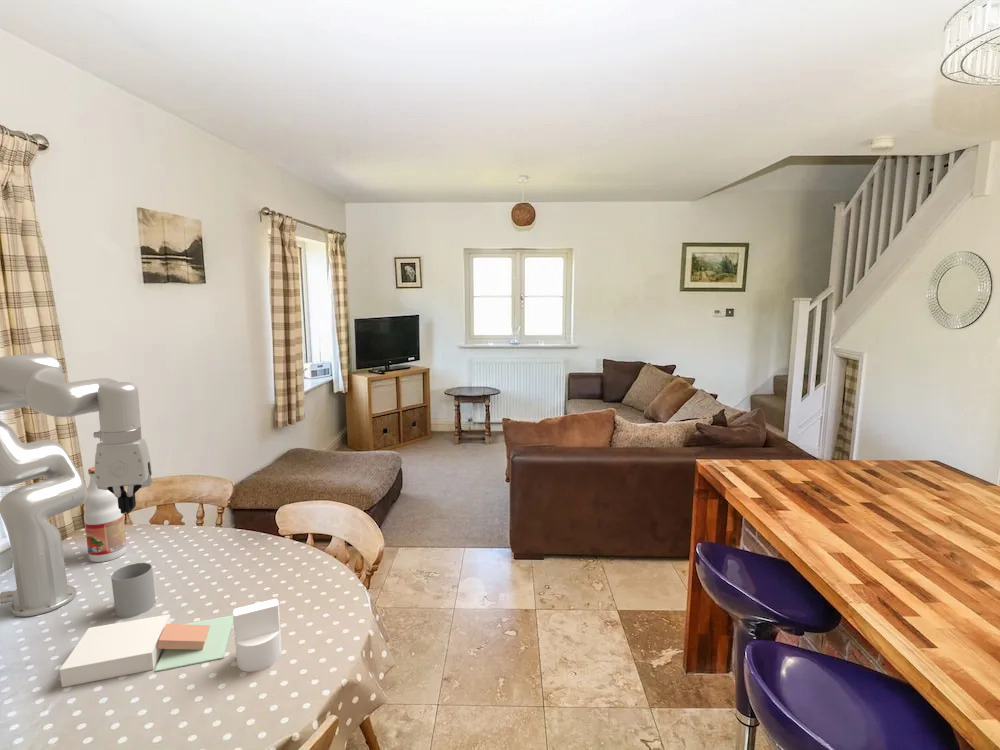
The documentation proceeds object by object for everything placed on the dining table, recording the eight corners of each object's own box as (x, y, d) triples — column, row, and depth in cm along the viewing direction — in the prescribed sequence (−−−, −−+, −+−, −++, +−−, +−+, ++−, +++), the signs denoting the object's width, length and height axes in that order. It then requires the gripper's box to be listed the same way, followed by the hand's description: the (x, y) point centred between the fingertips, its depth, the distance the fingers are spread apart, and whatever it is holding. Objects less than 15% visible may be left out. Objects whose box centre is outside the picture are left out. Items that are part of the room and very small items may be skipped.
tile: (156, 648, 112) (158, 640, 112) (164, 631, 117) (166, 623, 117) (202, 649, 115) (204, 641, 115) (208, 633, 120) (210, 625, 120)
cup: (163, 601, 133) (159, 566, 132) (131, 620, 126) (127, 582, 124) (140, 595, 136) (136, 560, 134) (107, 613, 128) (103, 576, 127)
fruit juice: (127, 556, 156) (118, 468, 152) (88, 566, 151) (77, 475, 146) (127, 544, 164) (117, 460, 159) (89, 553, 158) (78, 466, 154)
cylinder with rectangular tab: (237, 677, 107) (233, 624, 105) (236, 651, 115) (232, 601, 113) (283, 663, 111) (280, 612, 109) (280, 638, 119) (276, 591, 117)
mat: (154, 672, 108) (154, 670, 108) (175, 626, 123) (174, 625, 123) (223, 658, 113) (223, 657, 112) (235, 615, 127) (234, 614, 127)
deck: (61, 687, 104) (59, 669, 103) (91, 643, 117) (89, 627, 116) (153, 669, 109) (151, 652, 108) (171, 629, 122) (170, 614, 122)
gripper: (74, 442, 112) (82, 520, 115) (153, 439, 117) (158, 514, 119) (90, 432, 119) (97, 507, 122) (164, 430, 124) (168, 502, 127)
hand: (127, 510), depth 121 cm, fingers closed
